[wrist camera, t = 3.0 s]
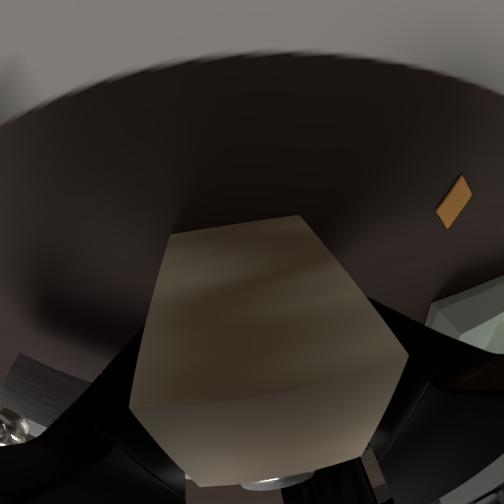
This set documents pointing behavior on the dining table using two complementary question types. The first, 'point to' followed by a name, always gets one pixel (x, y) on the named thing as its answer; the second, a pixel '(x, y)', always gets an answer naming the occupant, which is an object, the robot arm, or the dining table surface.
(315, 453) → the stop block
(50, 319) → the dining table surface
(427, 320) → the stop tray
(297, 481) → the crank
